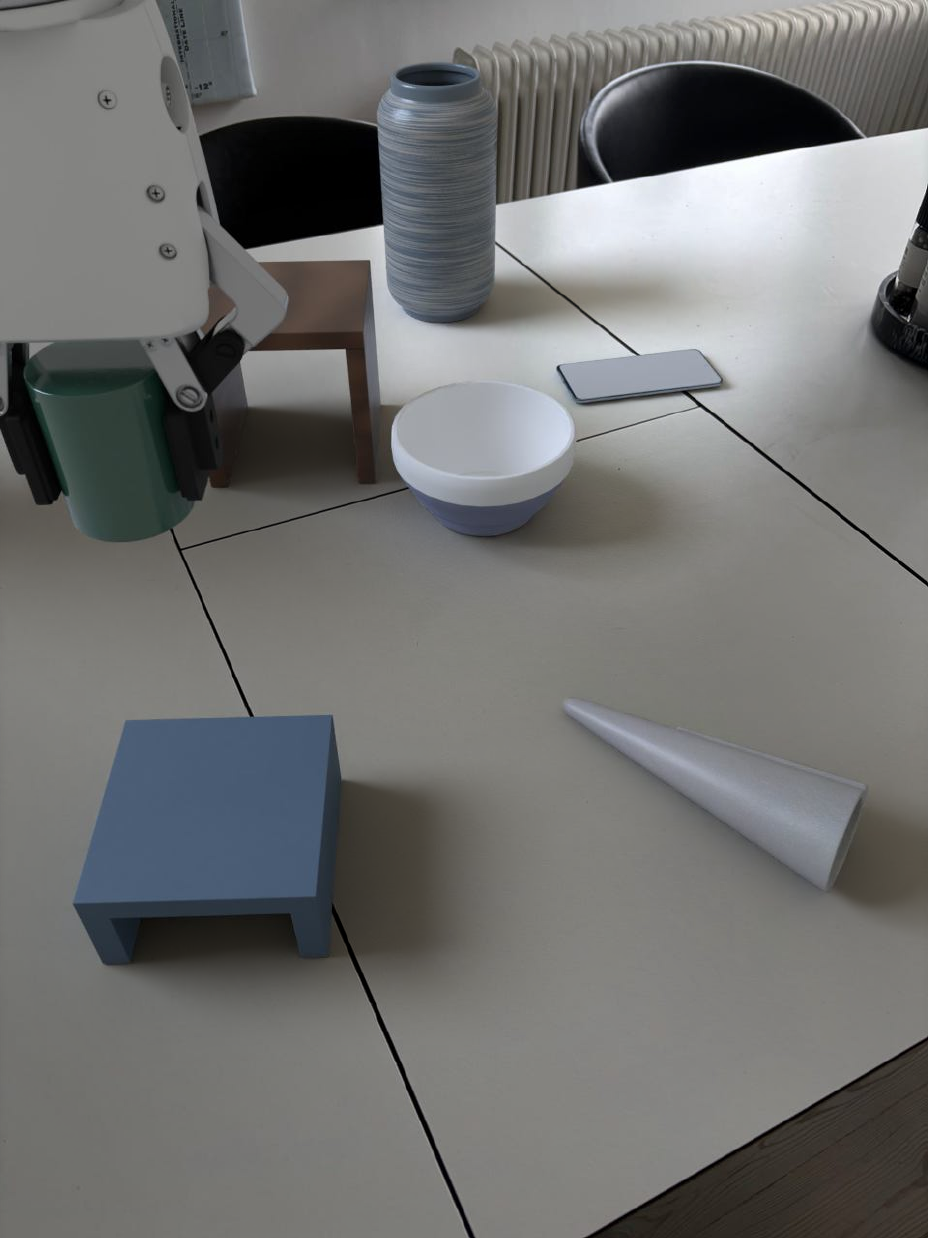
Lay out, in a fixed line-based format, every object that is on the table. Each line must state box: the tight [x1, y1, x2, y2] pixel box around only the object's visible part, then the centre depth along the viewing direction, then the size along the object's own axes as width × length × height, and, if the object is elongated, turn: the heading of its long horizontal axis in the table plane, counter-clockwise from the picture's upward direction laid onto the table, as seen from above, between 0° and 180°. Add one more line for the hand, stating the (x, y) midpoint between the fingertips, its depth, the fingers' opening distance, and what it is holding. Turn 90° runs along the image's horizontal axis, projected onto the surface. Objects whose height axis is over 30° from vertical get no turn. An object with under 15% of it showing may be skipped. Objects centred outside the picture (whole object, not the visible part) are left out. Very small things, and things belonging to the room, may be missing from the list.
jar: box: [23, 340, 196, 543], centre depth 39 cm, size 5×5×6 cm
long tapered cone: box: [562, 697, 869, 894], centre depth 60 cm, size 6×6×19 cm
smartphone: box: [555, 348, 724, 404], centre depth 98 cm, size 7×1×15 cm
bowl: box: [390, 380, 578, 537], centre depth 80 cm, size 14×14×8 cm
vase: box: [376, 61, 498, 324], centre depth 102 cm, size 12×12×23 cm
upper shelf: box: [200, 259, 382, 488], centre depth 85 cm, size 14×13×14 cm
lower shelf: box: [72, 714, 343, 965], centre depth 56 cm, size 12×12×6 cm
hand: (126, 479), depth 40 cm, fingers closed on jar, 5 cm apart
